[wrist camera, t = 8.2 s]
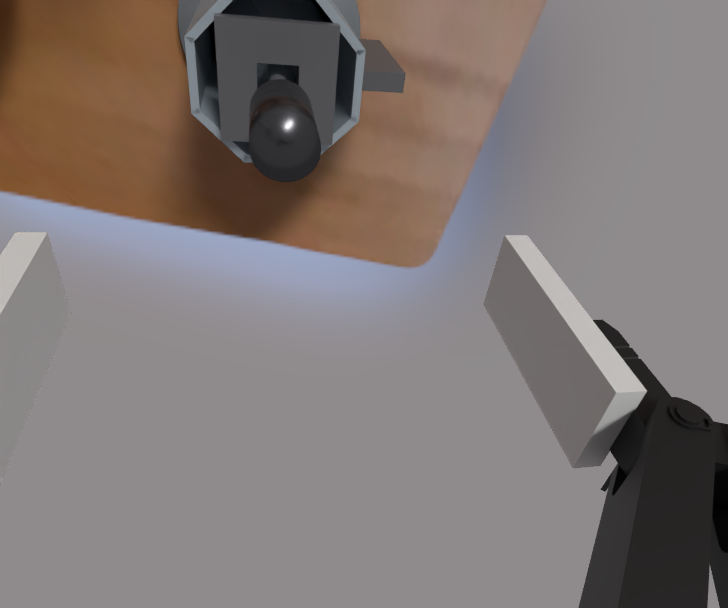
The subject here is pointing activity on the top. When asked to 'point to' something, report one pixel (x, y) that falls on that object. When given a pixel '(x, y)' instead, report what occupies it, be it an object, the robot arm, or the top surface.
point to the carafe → (286, 47)
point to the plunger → (281, 102)
